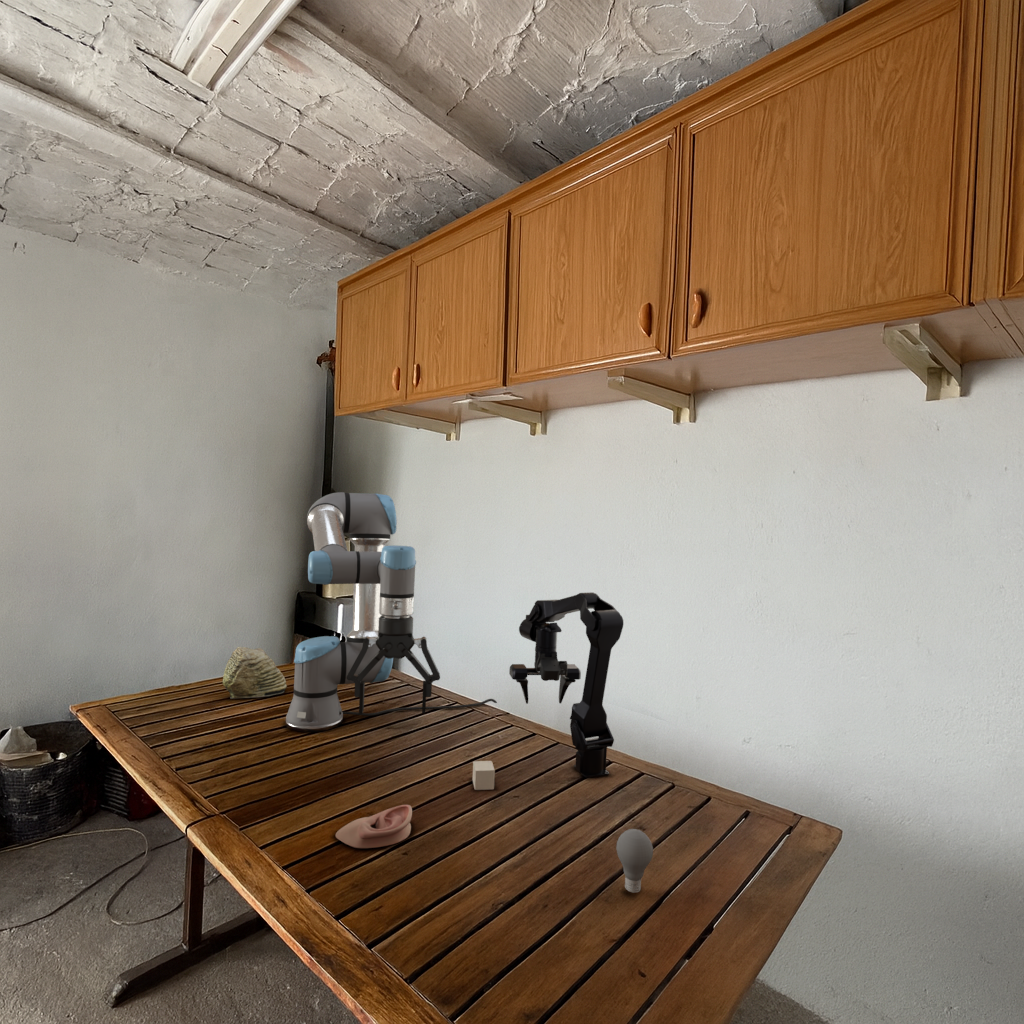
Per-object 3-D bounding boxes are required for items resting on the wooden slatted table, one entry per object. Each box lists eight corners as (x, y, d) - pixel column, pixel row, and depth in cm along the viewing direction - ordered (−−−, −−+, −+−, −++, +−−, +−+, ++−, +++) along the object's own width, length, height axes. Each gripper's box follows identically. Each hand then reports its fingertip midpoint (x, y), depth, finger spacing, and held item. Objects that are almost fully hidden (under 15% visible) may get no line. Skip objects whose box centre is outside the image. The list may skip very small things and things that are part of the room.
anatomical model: (328, 822, 116) (356, 794, 127) (327, 843, 116) (355, 813, 127) (396, 832, 113) (418, 803, 124) (395, 855, 113) (418, 823, 124)
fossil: (218, 695, 195) (220, 647, 195) (278, 685, 208) (279, 640, 207) (228, 703, 189) (230, 653, 188) (289, 692, 201) (290, 645, 201)
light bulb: (610, 879, 108) (613, 822, 108) (644, 879, 109) (647, 822, 109) (619, 902, 102) (622, 840, 102) (655, 901, 103) (658, 840, 103)
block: (474, 790, 140) (475, 770, 140) (472, 779, 145) (473, 761, 145) (494, 789, 141) (494, 770, 141) (490, 779, 146) (491, 760, 146)
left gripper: (335, 617, 135) (332, 717, 135) (453, 619, 138) (449, 716, 138) (340, 612, 142) (337, 706, 142) (452, 613, 145) (448, 706, 145)
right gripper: (517, 653, 162) (514, 713, 162) (587, 653, 165) (584, 712, 166) (510, 643, 173) (507, 699, 173) (576, 643, 176) (573, 699, 177)
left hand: (392, 711), depth 140 cm, fingers open, 13 cm apart
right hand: (543, 703), depth 172 cm, fingers open, 9 cm apart
